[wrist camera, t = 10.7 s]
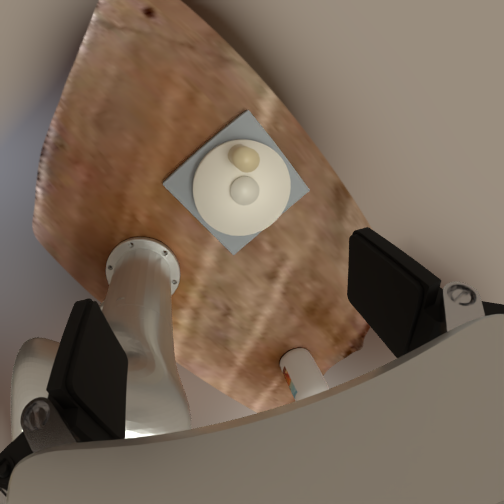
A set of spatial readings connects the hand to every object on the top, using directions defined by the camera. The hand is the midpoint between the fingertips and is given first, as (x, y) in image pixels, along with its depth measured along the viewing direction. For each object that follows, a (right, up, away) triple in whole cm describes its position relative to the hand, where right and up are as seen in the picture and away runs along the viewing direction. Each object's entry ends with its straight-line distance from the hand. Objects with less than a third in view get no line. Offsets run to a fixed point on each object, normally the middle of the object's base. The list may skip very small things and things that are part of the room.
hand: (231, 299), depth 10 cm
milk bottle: (+11, -23, +55) cm, 61 cm away
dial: (-1, +11, +32) cm, 34 cm away
